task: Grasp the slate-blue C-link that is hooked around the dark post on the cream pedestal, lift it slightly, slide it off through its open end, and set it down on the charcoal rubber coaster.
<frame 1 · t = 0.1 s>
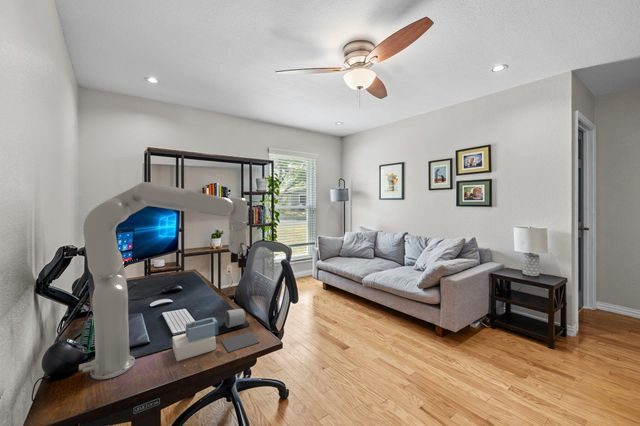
hand: (238, 264, 122), 31 cm above the table, fingers open, 9 cm apart
ceramic mug: (233, 324, 132), on the table
coaster: (240, 342, 117), on the table
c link: (202, 334, 112), point 5 cm above the table, touching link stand
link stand: (194, 349, 111), on the table
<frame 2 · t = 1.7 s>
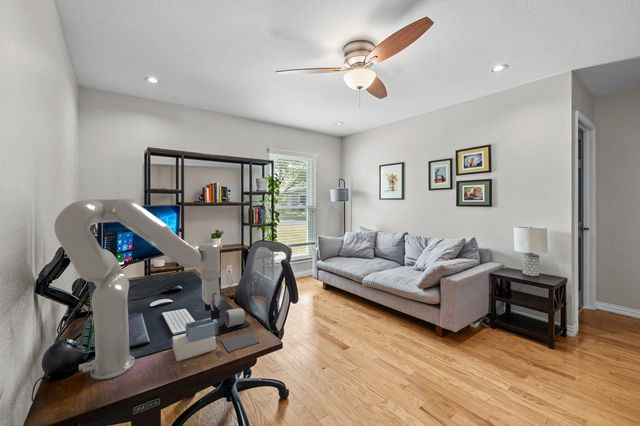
hand: (212, 314, 114), 13 cm above the table, fingers open, 9 cm apart
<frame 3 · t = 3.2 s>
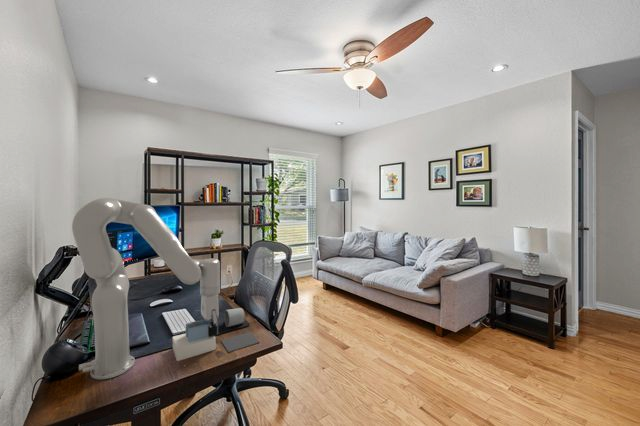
hand: (210, 331, 114), 5 cm above the table, fingers closed on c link, 6 cm apart
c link: (202, 334, 112), point 5 cm above the table, touching gripper, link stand
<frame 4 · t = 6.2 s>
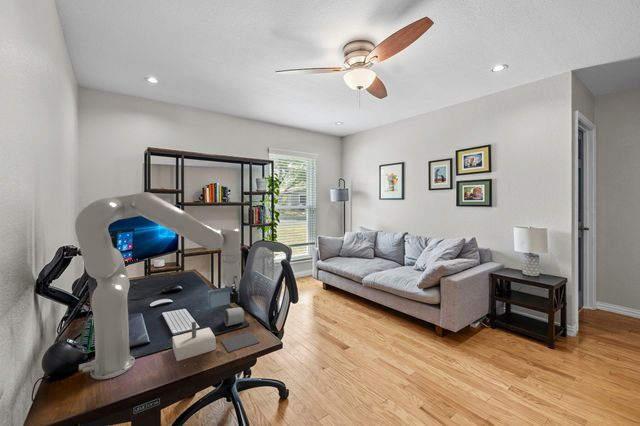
hand: (231, 299, 117), 18 cm above the table, fingers closed on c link, 6 cm apart
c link: (223, 302, 115), point 17 cm above the table, touching gripper
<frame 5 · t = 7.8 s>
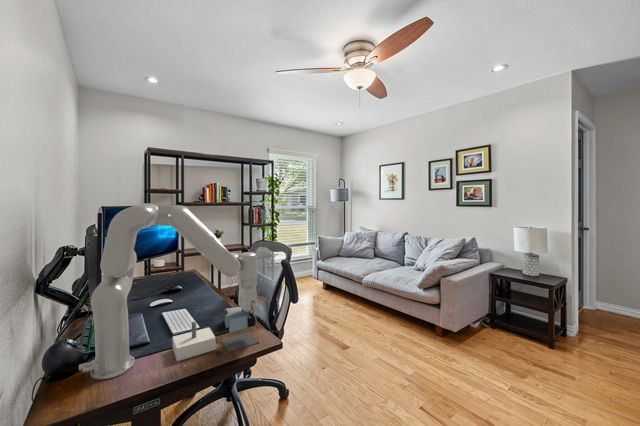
hand: (248, 322, 118), 8 cm above the table, fingers closed on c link, 6 cm apart
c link: (241, 325, 116), point 7 cm above the table, touching gripper
when the fingers open (2 cm above the table, at t = 9.3 s): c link drops 1 cm, resting on coaster.
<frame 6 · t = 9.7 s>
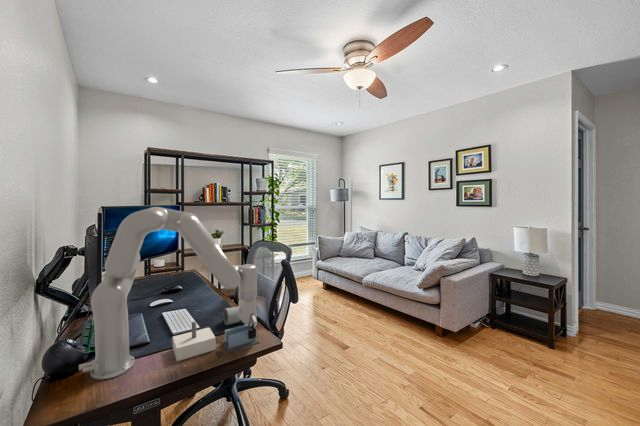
hand: (247, 333, 118), 3 cm above the table, fingers open, 9 cm apart
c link: (240, 341, 117), resting on coaster
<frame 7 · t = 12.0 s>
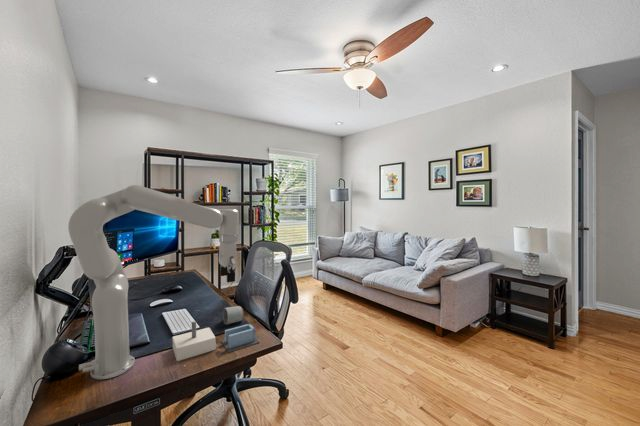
hand: (227, 278, 117), 26 cm above the table, fingers open, 9 cm apart
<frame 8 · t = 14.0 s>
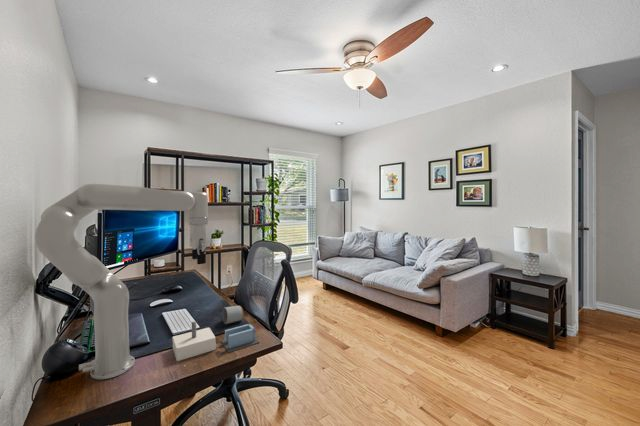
hand: (198, 261, 118), 33 cm above the table, fingers open, 9 cm apart
at the end: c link inside the target area on the coaster (0.1 cm from its centre), point 0.4 cm above the coaster's base; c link tilted 0°; the gripper is holding nothing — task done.
